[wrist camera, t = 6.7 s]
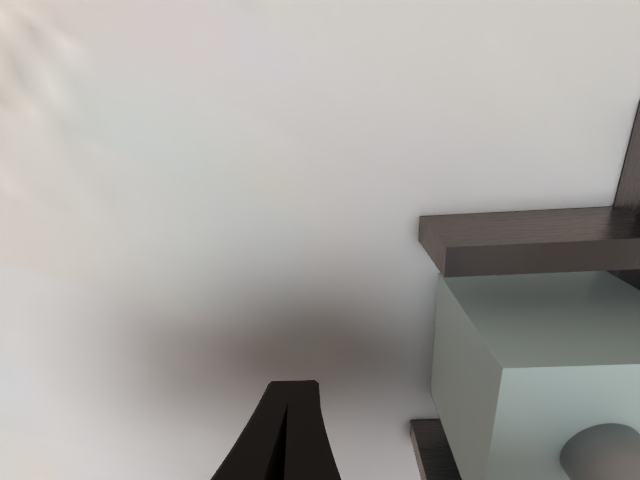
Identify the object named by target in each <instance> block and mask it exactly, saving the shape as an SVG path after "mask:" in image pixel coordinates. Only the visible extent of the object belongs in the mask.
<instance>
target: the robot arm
mask: <svg viewBox="0 0 640 480" xmlns="http://www.w3.org/2000/svg"><path fill="white" fill-rule="evenodd" d="M211 480H341V477H340V475H339V472H338V469H337V466H336V463H335V460H334V457H333V454H332V451H331V447H330V444H329V441H328V437H327V434H326V430H325V426H324V422H323V417H322V413H321V408H320V394H319V383H317V382H316V381H315V380H305V381H272V382H271V383H269V384H268V386H267V388H266V390H265V392H264V394H263V396H262V398H261V400H260V402H259V404H258V406H257V407H256V409H255V411H254V413H253V414H252V416H251V418H250V420H249V421H248V423H247V425H246V426H245V428H244V430H243V431H242V433H241V435H240V436H239V438H238V439H237V441H236V443H235V444H234V446H233V448H232V449H231V451H230V452H229V454H228V455H227V457H226V458H225V460H224V461H223V463H222V464H221V465H220V467H219V468H218V470H217V471H216V473H215V474H214V476H213V477H212V479H211Z"/></svg>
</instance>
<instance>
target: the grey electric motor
mask: <svg viewBox="0 0 640 480" xmlns="http://www.w3.org/2000/svg"><path fill="white" fill-rule="evenodd" d="M419 242H420V243H421V245H422V246H423V248H424V249H425V251H426V252H427V253H428V255H429V256H430V258H431V259H432V261H433V262H434V264H435V265H436V267H437V268H438V269H439V271H440V272H441V274H442V275H443V277H444V278H447V277H470V276H493V275H516V274H539V273H562V272H585V271H607V272H609V273H611V274H612V275H614V276H616V277H617V278H619V279H621V280H623V281H624V282H626V283H628V284H629V285H631V286H633V287H635V288H636V289H638V290H640V104H639V108H638V112H637V116H636V120H635V124H634V128H633V132H632V136H631V140H630V144H629V148H628V152H627V156H626V160H625V164H624V168H623V172H622V176H621V180H620V184H619V188H618V192H617V196H616V200H615V204H614V207H594V208H575V209H555V210H536V211H516V212H496V213H477V214H457V215H438V216H420V227H419ZM410 436H411V440H412V444H413V448H414V452H415V456H416V460H417V464H418V468H419V472H420V476H421V480H462V478H461V476H460V473H459V470H458V467H457V465H456V462H455V459H454V456H453V453H452V451H451V448H450V445H449V442H448V440H447V437H446V434H445V431H444V428H443V426H442V423H441V420H411V430H410Z"/></svg>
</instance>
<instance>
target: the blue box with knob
mask: <svg viewBox="0 0 640 480" xmlns="http://www.w3.org/2000/svg"><path fill="white" fill-rule="evenodd" d="M431 395H432V398H433V401H434V404H435V406H436V409H437V412H438V415H439V417H440V420H441V423H442V426H443V428H444V431H445V434H446V437H447V440H448V442H449V445H450V448H451V451H452V453H453V456H454V459H455V462H456V465H457V467H458V470H459V473H460V476H461V478H462V480H640V290H638V289H636V288H635V287H633V286H631V285H629V284H628V283H626V282H624V281H623V280H621V279H619V278H617V277H616V276H614V275H612V274H611V273H609V272H607V271H585V272H562V273H539V274H516V275H493V276H470V277H447V278H444V277H443V275H442V274H441V273H439V275H438V290H437V304H436V319H435V334H434V348H433V363H432V378H431Z"/></svg>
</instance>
